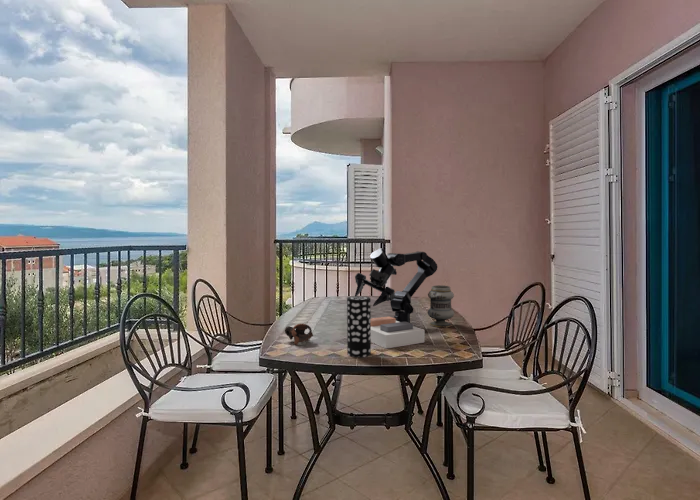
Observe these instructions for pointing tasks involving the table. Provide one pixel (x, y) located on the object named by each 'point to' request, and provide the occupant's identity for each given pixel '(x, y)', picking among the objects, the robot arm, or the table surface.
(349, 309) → the white-spotted black cylinder
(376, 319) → the salmon orange rectangular block
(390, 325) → the dark grey rectangular block
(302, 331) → the brown toy animal
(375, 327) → the white tray
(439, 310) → the apothecary jar
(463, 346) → the table surface
